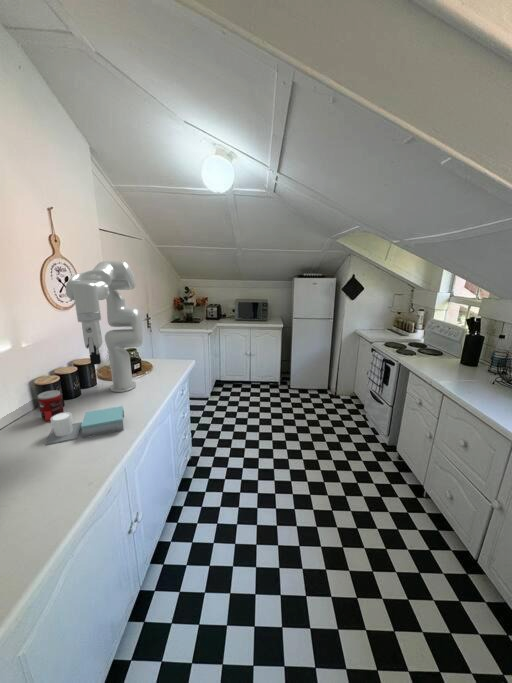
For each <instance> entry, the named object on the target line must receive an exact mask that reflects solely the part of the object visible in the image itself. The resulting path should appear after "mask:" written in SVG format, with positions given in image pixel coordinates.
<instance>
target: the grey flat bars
mask: <svg viewBox="0 0 512 683" xmlns="http://www.w3.org/2000/svg"><path fill="white" fill-rule="evenodd" d="M124 417H125V411H124V409H123V418H124ZM124 430H125V429H124V420H122V422H117V423H111V424H106V425H100V426H95V427H90V428H84V429H81V431H82V438H84V439H86V438H90V437H95V436H100V435H106V434H110V433H111V434H112V433H116V432H121V431H124Z"/></svg>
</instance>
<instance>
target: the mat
mask: <svg viewBox="0 0 512 683" xmlns="http://www.w3.org/2000/svg"><path fill="white" fill-rule="evenodd" d="M82 422H83V421H81V422H80V421H79V422H75V423H74V422H73V423H72V428H73V431H72V432H71V433H70V434H68V435H65V436H56V435H55V432H54V429H53V428H52V429H51V431H50V434H49V435H48V438H47V440H46V441H45V446H48V445H49V446H50V445H54V444H60V443H65V442H69V441H74V440H75V441H76V440H78V438H79V436H80V431H81V430H82V429H81V425H82Z"/></svg>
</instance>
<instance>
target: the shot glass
mask: <svg viewBox="0 0 512 683" xmlns="http://www.w3.org/2000/svg"><path fill="white" fill-rule="evenodd" d="M50 420H51V421H50V423H51V426H52V429H54V432H55V435H56V436H65V435H68V434H70V433H71V432H72V431H73V428H72V424H73V414H72V413H71V412H69V411H64V412H63V413H59V414H56V415H54V416H52V417H51V419H50Z"/></svg>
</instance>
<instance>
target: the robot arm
mask: <svg viewBox="0 0 512 683" xmlns="http://www.w3.org/2000/svg"><path fill="white" fill-rule="evenodd" d="M136 285H137V282H136V277H135V275H134V272H133V270H132V268H131V267H130V265H129V264H128V263H127V262H125V261H122V260H119V261H118V260H117V261H113V260H109V261H108V260H106V261H103V260H102V261H100V262H99V263H97V264H96V265H95V267H93V269H92V270H88V271H84V272H82V273H77V274H75V275H72V277H70V278H69V279H68V281H67V282H66V284H65V288H64V289H65V295H66V296H67V297H68V299H70V300H71V301H74V305H75V311H76V318H77V322H78V323H81V329H82V336H83V342H84V347H85V349H88V351H89V353H88V354H89V360H90V365H91V366H94V365H100V364H101V363H102V361H101V360H102V359H101V354H100V349H99V348H101V347H102V345H103V337H102V332H101V325H100V321H101V320H102V316H101V315H102V314H101V308H100V307H101V306H100V301H104V300H106V316H107V317H106V319H107V324H108V325H109V326H110V327H113V328H124V329H112V330H108V331H106V333H105V335H104V341H105V344H106V348H107V353H108V359H109V366H110V370H111V371H110V372H111V380H112V385H110V387H109V390H110V391H111V392H113V393H123V392H125V393H126V392H129V391H132V390H133V389H135V388H136V387H137V383H136V382H135V381H133V377H132V376H133V375H132V364H131V356H130V353H129V352H128V350H127V349H129V348H130V349H131V348H139V347H141V346H142V344H143V326H142V325H143V322H142V314H141V311H140V310H139V309H138V308H134V307H128V308H126V300H125V298H124V296H123V295H122V293H120V292H119V291H126V290H127V291H128V290H134V289H135V288H136ZM130 327H131V328H130ZM126 328H127V329H126ZM128 328H129V329H128Z"/></svg>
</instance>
